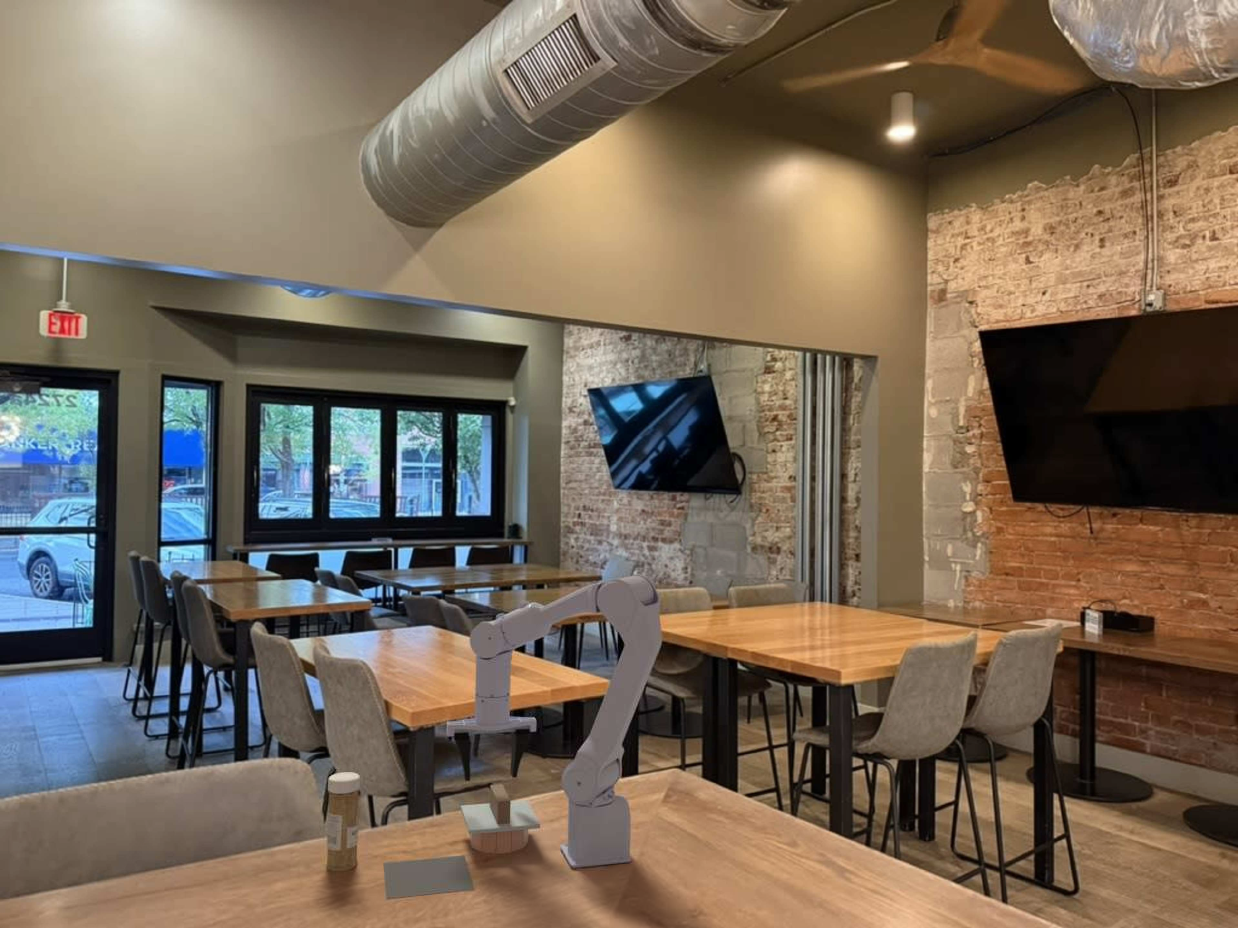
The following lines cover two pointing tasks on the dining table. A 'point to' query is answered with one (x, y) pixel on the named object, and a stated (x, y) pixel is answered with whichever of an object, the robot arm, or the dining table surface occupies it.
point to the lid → (499, 814)
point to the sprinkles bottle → (342, 821)
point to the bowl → (499, 841)
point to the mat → (427, 877)
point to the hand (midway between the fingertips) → (490, 777)
